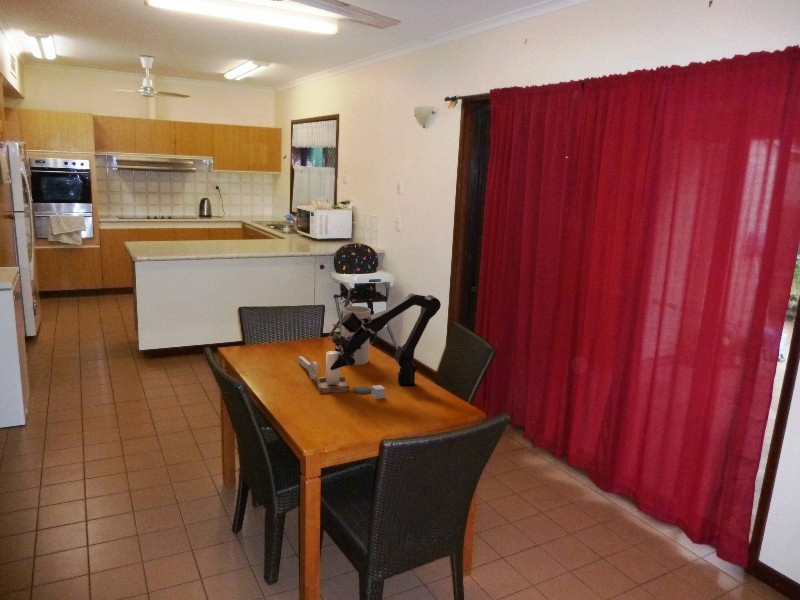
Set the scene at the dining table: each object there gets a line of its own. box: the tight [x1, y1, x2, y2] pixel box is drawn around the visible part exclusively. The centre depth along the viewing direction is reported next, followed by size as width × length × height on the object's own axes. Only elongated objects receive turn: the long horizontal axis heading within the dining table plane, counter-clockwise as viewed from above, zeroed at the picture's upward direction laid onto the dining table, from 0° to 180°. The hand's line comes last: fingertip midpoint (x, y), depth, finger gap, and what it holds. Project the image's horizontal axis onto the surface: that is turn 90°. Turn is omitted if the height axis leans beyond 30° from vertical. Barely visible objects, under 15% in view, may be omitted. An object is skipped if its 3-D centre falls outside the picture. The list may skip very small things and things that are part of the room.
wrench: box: [297, 355, 319, 380], centre depth 250 cm, size 8×2×30 cm
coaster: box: [351, 386, 372, 395], centre depth 233 cm, size 8×8×1 cm
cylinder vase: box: [341, 305, 372, 366], centre depth 266 cm, size 12×12×25 cm
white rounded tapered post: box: [325, 350, 341, 385], centre depth 234 cm, size 6×6×12 cm
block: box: [370, 384, 386, 400], centre depth 227 cm, size 4×4×4 cm
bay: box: [315, 375, 350, 394], centre depth 235 cm, size 12×12×2 cm
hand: (329, 367), depth 233 cm, fingers closed on white rounded tapered post, 5 cm apart
